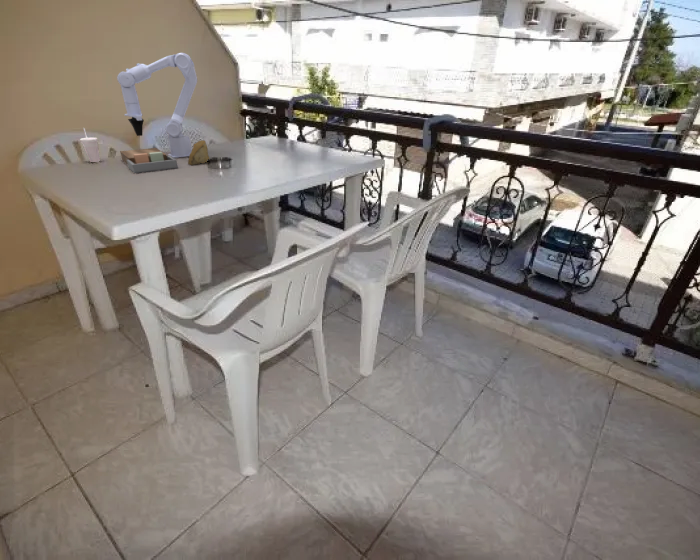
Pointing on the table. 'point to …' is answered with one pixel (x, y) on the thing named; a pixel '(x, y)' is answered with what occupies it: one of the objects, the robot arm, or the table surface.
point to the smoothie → (91, 147)
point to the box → (153, 165)
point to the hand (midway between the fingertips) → (139, 135)
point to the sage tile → (156, 156)
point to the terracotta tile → (141, 158)
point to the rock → (198, 153)
